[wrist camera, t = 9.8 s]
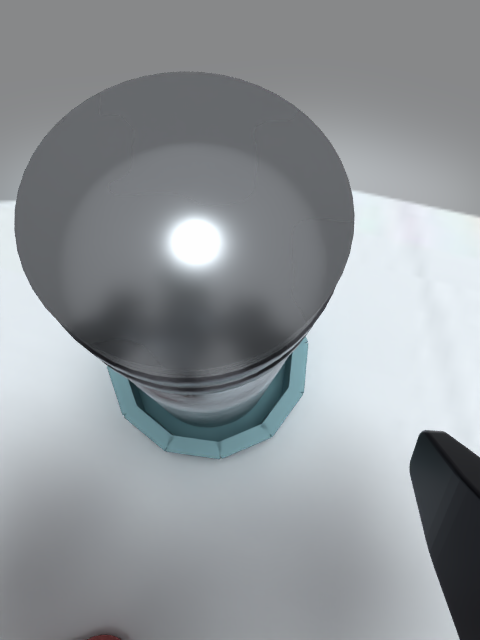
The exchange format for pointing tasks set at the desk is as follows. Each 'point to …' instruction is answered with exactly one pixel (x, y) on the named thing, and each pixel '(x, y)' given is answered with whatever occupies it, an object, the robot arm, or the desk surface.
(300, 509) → the desk surface
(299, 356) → the ring collar
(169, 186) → the piston
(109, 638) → the pliers
